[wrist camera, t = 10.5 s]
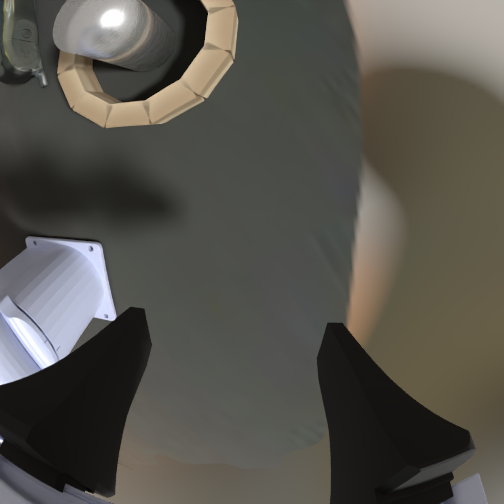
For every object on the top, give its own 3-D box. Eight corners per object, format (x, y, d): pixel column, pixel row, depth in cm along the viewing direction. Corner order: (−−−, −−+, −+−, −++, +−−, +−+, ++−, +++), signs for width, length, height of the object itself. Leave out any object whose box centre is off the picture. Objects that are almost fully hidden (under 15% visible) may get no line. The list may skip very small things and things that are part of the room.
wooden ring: (74, 131, 16) (54, 135, 14) (90, -4, 11) (74, -13, 9) (229, 124, 17) (224, 124, 14) (243, -28, 11) (241, -45, 9)
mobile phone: (-14, -9, 5) (-9, 103, 10) (7, -32, 4) (13, 77, 10) (16, -2, 9) (32, 100, 15) (37, -22, 9) (55, 79, 14)
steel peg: (122, 77, 15) (49, 64, 8) (123, 29, 13) (58, -2, 6) (175, 66, 15) (121, 37, 8) (176, 16, 13) (129, -32, 6)
